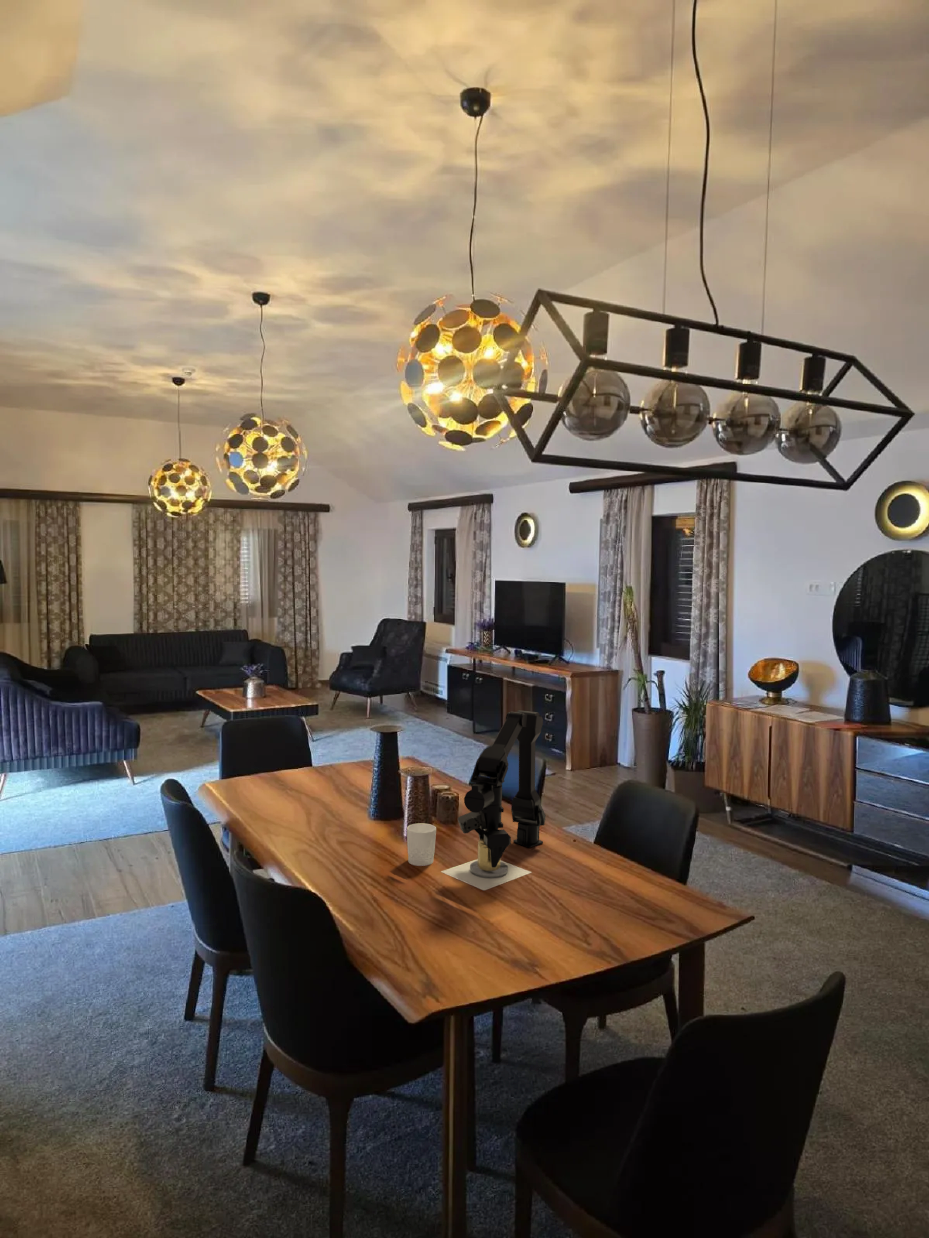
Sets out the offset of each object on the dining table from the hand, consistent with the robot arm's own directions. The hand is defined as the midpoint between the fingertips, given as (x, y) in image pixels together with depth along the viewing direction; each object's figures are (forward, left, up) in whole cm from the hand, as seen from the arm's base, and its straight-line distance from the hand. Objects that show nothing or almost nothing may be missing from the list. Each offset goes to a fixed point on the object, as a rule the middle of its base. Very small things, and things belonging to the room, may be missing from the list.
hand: (489, 860), depth 206 cm
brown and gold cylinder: (0, 0, -2) cm, 2 cm away
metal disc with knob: (0, 0, -3) cm, 3 cm away
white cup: (+9, -17, -4) cm, 20 cm away
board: (+1, 0, -4) cm, 4 cm away
